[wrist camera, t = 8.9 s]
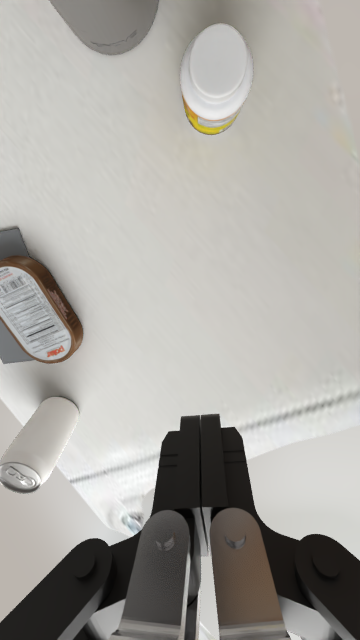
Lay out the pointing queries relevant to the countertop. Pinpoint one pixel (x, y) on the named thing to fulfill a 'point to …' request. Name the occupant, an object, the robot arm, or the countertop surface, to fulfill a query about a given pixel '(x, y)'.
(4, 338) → the mat
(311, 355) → the countertop surface
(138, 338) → the countertop surface
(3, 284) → the tin
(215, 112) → the supplement bottle
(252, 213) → the countertop surface
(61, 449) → the can
